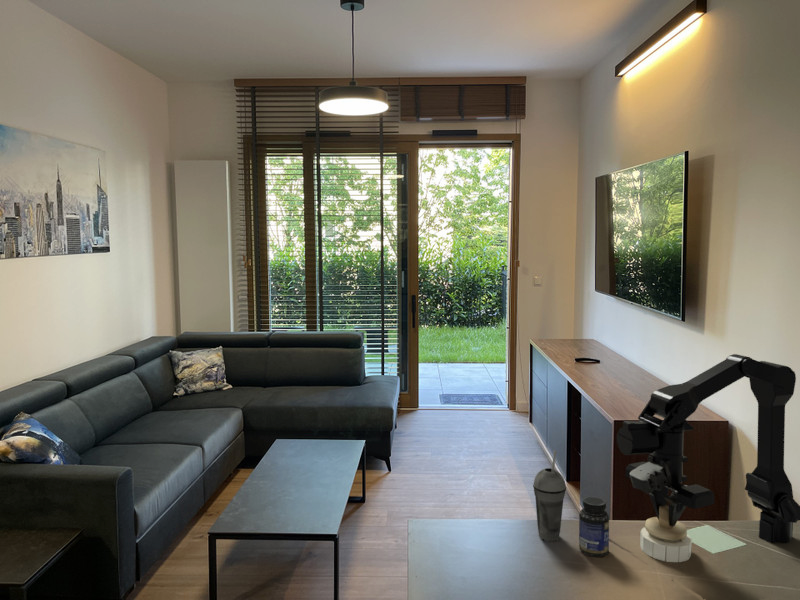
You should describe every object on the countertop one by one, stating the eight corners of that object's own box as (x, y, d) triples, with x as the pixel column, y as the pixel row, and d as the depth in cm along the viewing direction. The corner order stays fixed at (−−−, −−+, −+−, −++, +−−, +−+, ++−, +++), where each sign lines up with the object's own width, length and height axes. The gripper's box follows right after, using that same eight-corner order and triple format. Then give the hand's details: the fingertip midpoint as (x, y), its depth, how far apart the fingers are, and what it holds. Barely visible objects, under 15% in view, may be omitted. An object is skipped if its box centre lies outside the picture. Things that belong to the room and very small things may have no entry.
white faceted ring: (664, 539, 132) (665, 522, 132) (700, 559, 123) (701, 541, 123) (630, 547, 128) (631, 529, 128) (665, 569, 120) (666, 550, 119)
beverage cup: (531, 528, 138) (531, 444, 136) (563, 529, 137) (564, 445, 135) (533, 543, 131) (534, 455, 129) (567, 545, 130) (569, 456, 128)
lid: (665, 519, 131) (665, 497, 130) (695, 535, 123) (696, 512, 123) (637, 526, 128) (637, 503, 127) (666, 543, 120) (667, 519, 120)
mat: (707, 528, 137) (707, 524, 137) (746, 548, 128) (747, 544, 128) (674, 536, 133) (674, 532, 133) (713, 557, 124) (713, 553, 124)
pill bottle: (610, 559, 124) (611, 508, 123) (580, 556, 125) (580, 505, 124) (606, 544, 130) (607, 496, 129) (577, 542, 131) (578, 494, 130)
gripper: (606, 442, 130) (605, 511, 131) (674, 471, 112) (672, 550, 114) (645, 436, 134) (644, 503, 135) (717, 463, 116) (714, 539, 118)
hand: (666, 522), depth 125 cm, fingers closed on lid, 3 cm apart
